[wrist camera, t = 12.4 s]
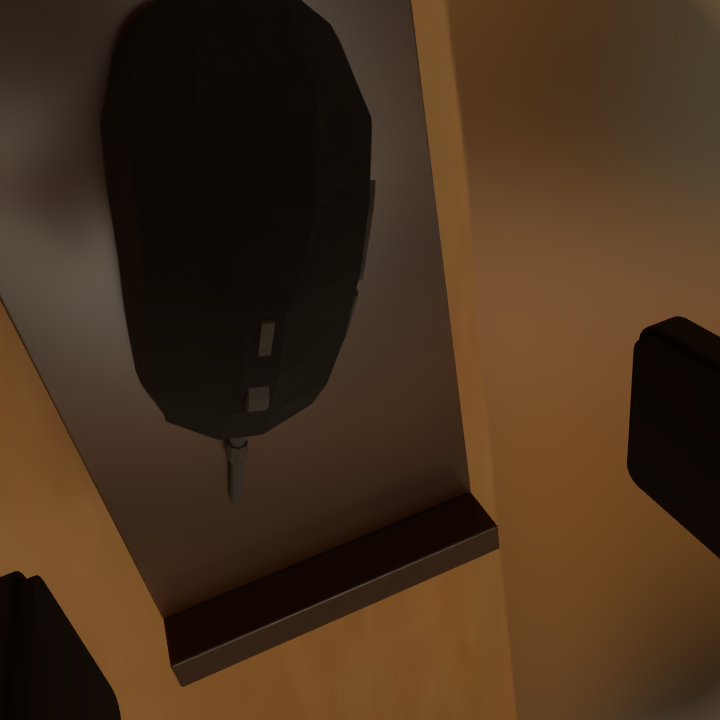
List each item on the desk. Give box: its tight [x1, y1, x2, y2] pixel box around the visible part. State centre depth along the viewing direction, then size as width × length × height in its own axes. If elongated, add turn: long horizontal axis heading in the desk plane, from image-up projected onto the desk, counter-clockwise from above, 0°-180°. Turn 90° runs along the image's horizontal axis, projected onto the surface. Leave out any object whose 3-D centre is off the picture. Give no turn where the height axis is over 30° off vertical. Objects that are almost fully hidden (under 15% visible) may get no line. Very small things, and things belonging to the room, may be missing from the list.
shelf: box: [0, 0, 499, 687], centre depth 22 cm, size 24×12×11 cm, turn 10°
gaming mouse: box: [100, 0, 376, 504], centre depth 17 cm, size 6×15×4 cm, turn 174°
